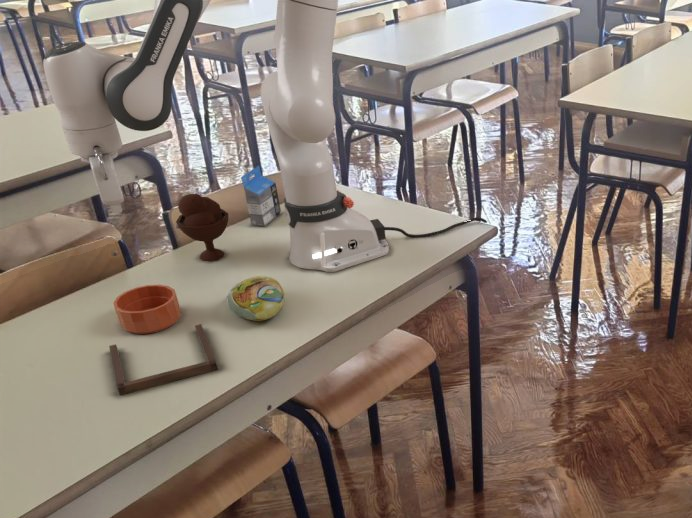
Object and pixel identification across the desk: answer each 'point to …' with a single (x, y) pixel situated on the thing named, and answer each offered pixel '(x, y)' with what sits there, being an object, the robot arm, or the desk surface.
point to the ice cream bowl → (203, 223)
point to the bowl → (147, 309)
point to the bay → (166, 376)
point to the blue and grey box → (261, 198)
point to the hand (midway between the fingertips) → (117, 210)
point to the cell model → (256, 298)
